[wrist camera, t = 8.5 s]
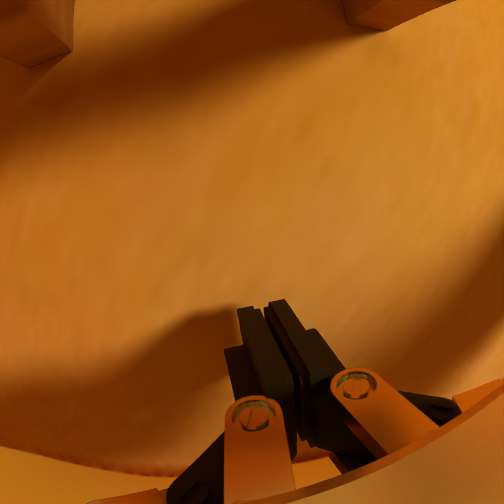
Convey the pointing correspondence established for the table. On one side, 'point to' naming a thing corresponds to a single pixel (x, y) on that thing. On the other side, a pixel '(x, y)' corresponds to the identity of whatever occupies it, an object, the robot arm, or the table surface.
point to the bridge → (62, 11)
